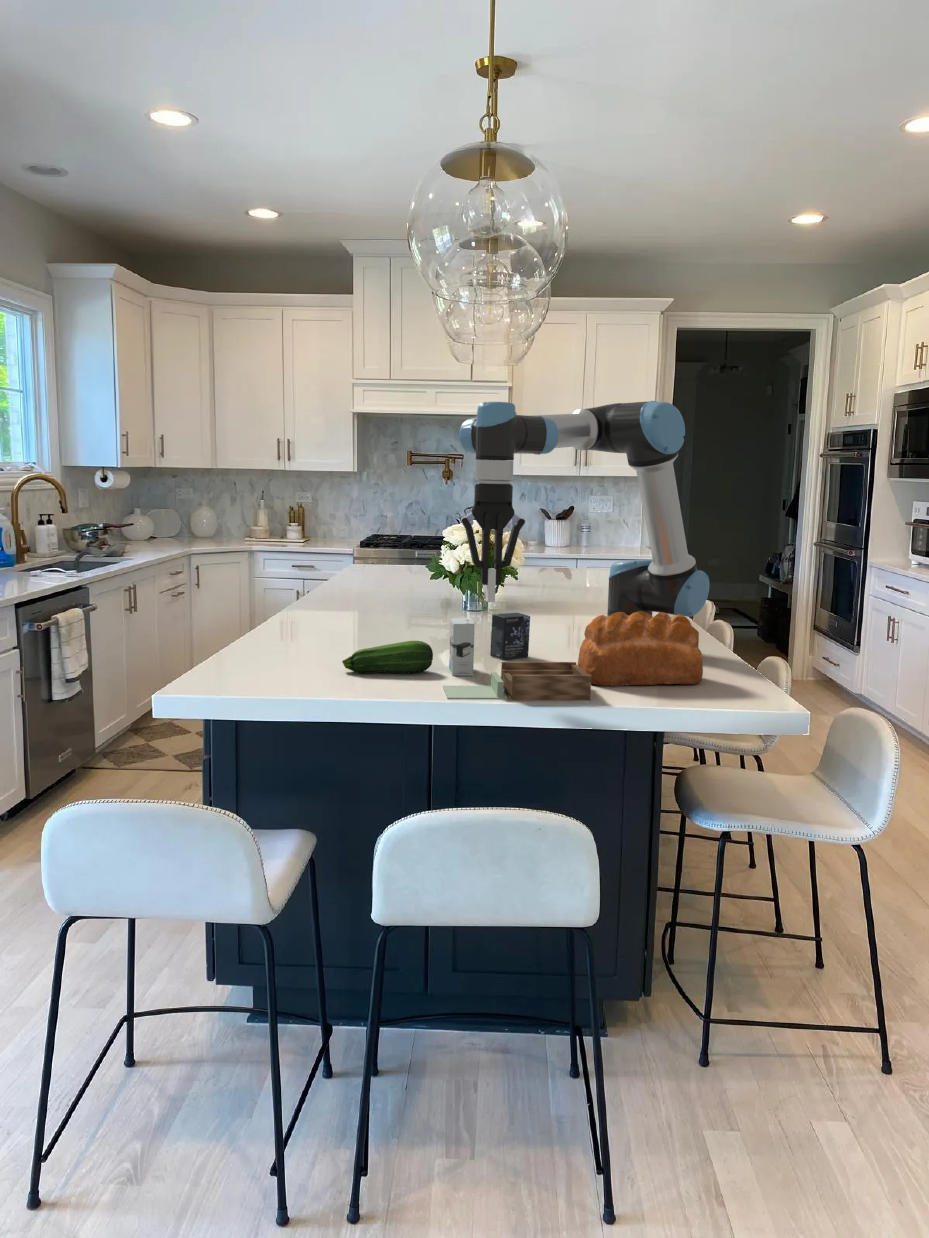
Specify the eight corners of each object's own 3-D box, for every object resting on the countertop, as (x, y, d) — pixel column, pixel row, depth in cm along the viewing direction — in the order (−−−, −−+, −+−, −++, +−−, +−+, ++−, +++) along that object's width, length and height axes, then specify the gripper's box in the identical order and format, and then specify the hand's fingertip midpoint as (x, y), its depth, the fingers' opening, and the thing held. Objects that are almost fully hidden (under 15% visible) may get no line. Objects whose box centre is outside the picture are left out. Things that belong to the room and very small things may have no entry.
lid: (499, 689, 189) (500, 671, 188) (507, 701, 179) (508, 682, 178) (442, 689, 188) (443, 671, 187) (447, 701, 177) (447, 682, 177)
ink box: (448, 667, 206) (450, 617, 204) (470, 668, 206) (471, 617, 205) (451, 676, 198) (452, 623, 196) (473, 676, 198) (475, 623, 196)
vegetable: (433, 636, 198) (341, 637, 195) (434, 668, 196) (342, 669, 193) (430, 645, 205) (342, 646, 202) (431, 676, 203) (342, 677, 200)
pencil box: (574, 684, 193) (575, 661, 192) (590, 699, 180) (591, 675, 179) (500, 684, 191) (501, 661, 190) (511, 700, 178) (512, 675, 177)
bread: (707, 687, 195) (712, 616, 193) (589, 688, 191) (593, 616, 188) (682, 673, 209) (686, 607, 206) (571, 673, 204) (575, 606, 202)
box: (503, 660, 216) (504, 617, 214) (489, 656, 221) (491, 613, 219) (529, 657, 220) (531, 615, 219) (515, 653, 225) (517, 611, 223)
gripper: (522, 483, 182) (518, 598, 185) (458, 481, 180) (456, 598, 184) (530, 483, 174) (525, 604, 178) (463, 482, 173) (460, 603, 176)
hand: (490, 601), depth 181 cm, fingers closed
